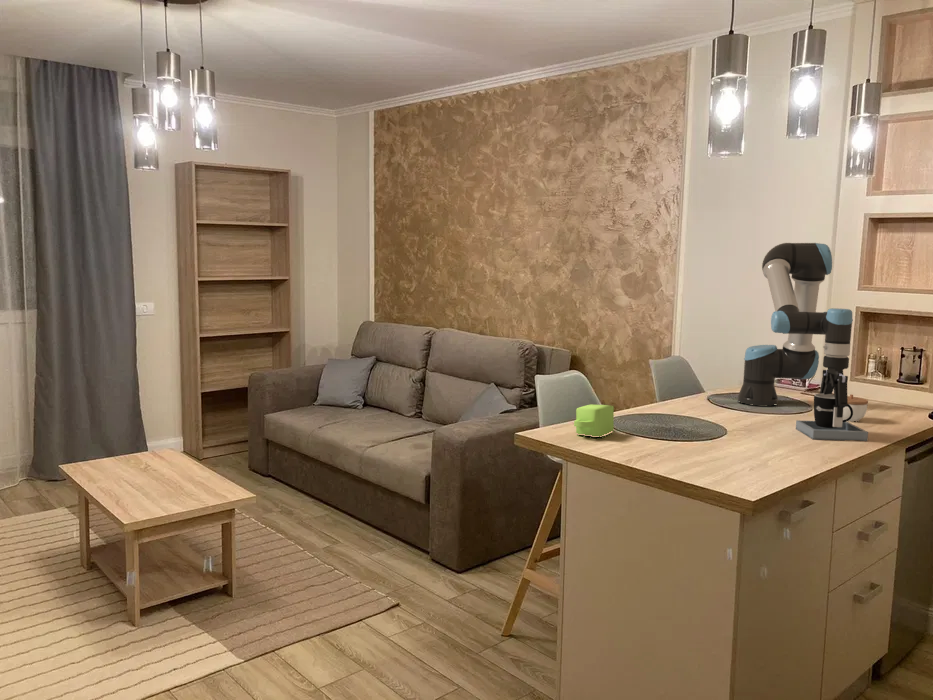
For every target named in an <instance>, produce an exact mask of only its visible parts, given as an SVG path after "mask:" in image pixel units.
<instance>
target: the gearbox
mask: <svg viewBox="0 0 933 700" xmlns="http://www.w3.org/2000/svg"><path fill="white" fill-rule="evenodd" d="M614 414H615V413H614V405H608V404H592V403H591V404H587V405H586V404H585V405H583V406H580V407H577V408H576V410H575V415H576V416H575V420H574V421H573V425H574V426H573V427H575V429H576V430H575V431H576V432H575V433H578V434H585V435H592V436H599V437H600V436H602V435H604V434H607V433H609V432H611V431H613V432H614V426H615V425H614V421H615V420H614V419H615V418H614V417H615V415H614Z"/></svg>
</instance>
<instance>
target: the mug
mask: <svg viewBox="0 0 933 700" xmlns="http://www.w3.org/2000/svg"><path fill="white" fill-rule="evenodd" d="M834 405H835V396H834V393H832V394H826V395H824V394H820V393H815V394H814V396H813V415H814V421H815V423H816V425H817V426H819V427H824V428H837V427H833V414H834V407H833V406H834ZM847 407H849V409H850V411H851V415H850V417H849V418H848V419H846V420H843V422H849V420H850V419H851V418H852V416H853V409H852V407H851V406H850V405H849V404H848V406H847Z"/></svg>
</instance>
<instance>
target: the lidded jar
mask: <svg viewBox="0 0 933 700" xmlns="http://www.w3.org/2000/svg"><path fill="white" fill-rule="evenodd" d="M847 399H848V404H849V405H850V406H851V407H852V409H853V416H852V418H851V419H850V420H849V421H851V422H852V423H853V421H856V422H855V423H858V422H860V420H861V419H863V418H864V417H865V416H866V413H867V410H868V404H869V400H868V399H866V398H862V397H856V396H854V394H852V393H851V394H849V396H847ZM850 415H851V411H850V409H849V407H844V409H843V420H846V419H848V418H849V417H850ZM849 421H848V422H849ZM857 421H858V422H857ZM851 422H850V423H851Z"/></svg>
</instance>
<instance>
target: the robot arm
mask: <svg viewBox="0 0 933 700" xmlns="http://www.w3.org/2000/svg"><path fill="white" fill-rule="evenodd" d="M761 264H762V265H761V269H762V273H763V276H764V277H765V278H766V279H767V282H768V287H769V291H770V295H771V298H772V303H773V307H774V311H773V312H772V314H771V318H770V327H771V328H770V329H771V331H772V332H773V333H776V334H784V335H785V334H786V335H787V334H788V337H787V340H786V341H785V342H783V343H782V344H783V345H782V348H778V346H777V345H775V344H757V345H752V346H748V347H747V348H746V350H745V354H744V358H743V360H744V362H743V363H744V365H743V383H742V385H741V387H740V390H739V392H738V395H737V402H738V401H740V402H742V403H746V404H753V405H774V404H777V403H778V404H779V398H778V394H777V391H776V387H775V381H776V380H775V379H790V380H791V379H792V380H810V379H812V378H813V377H814V376H815V375H816V373H817V371H818V367H819V363H820V359H819V358H820V355H819V351H818V350H817V349H816V346H815V345H814V344H813V342H812V341H813V335H824V345H823V346H822V348H823V350H824V351H823V354H824V356H823V358H822V359H823V360H822V366H823V367H824V368H826V369H822V378H821V383H820V388H819V389H820V390H819V394H824V395H826V394H834V396H835V405H834V406H833V407H834V414H833V427H842V422H843V409H844V407H847V406H848V399H847V397H848V380H849V376H848V375H845V374H844V370H847V369H848V368H849V367H850V366H849V364H850V358H849V356H850V354H851V339H852V338H851V337H852V328H853V310H852V309H849V308H838V307H837V308H834V307H833V308H829V309H828V310H827V311H823V312H818V311H817V305H818V299H819V290H820V285H821V283H823V282H824V281H825V280H826V276H828V275H831V273H832V270H833V255H832V251H831V248H830V247H829V245H828V244H825V243H820V242H819V243H818V242H783V243H779V244H777V245H775V246H773V247H772V248H771V249H770V250H769V251H768V252H767V253H766V254H765V256H764V258H763V260H762V263H761ZM790 275H791V276H790ZM792 281H794V286H793V283H792ZM742 403H741V404H742ZM746 404H745V405H746Z"/></svg>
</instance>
